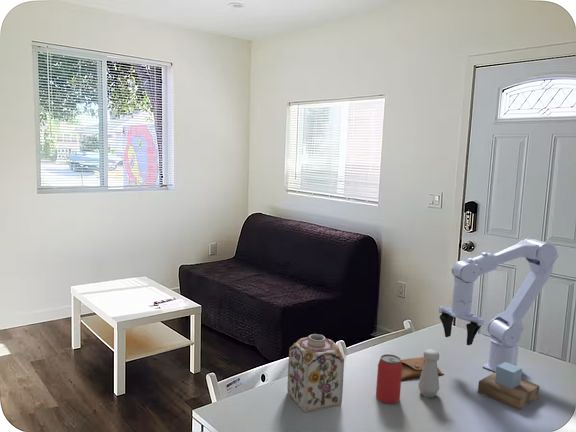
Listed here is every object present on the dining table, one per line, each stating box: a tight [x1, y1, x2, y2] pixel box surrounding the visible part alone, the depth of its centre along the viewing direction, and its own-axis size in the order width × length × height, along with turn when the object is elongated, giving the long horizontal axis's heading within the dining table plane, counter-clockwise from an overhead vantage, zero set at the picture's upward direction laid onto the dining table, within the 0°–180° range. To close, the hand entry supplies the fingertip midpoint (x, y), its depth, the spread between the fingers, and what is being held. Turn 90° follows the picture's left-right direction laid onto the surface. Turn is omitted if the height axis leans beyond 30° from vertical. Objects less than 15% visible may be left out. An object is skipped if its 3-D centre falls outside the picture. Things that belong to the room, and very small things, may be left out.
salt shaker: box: [418, 348, 440, 398], centre depth 138 cm, size 6×6×13 cm
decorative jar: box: [286, 333, 345, 413], centre depth 132 cm, size 12×12×18 cm
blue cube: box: [495, 362, 523, 389], centre depth 140 cm, size 5×5×5 cm
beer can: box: [375, 353, 402, 405], centre depth 135 cm, size 7×7×12 cm
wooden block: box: [477, 372, 540, 411], centre depth 140 cm, size 12×12×4 cm
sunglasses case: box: [401, 356, 444, 382], centre depth 153 cm, size 18×7×7 cm, turn 111°
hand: (458, 340), depth 154 cm, fingers open, 7 cm apart
